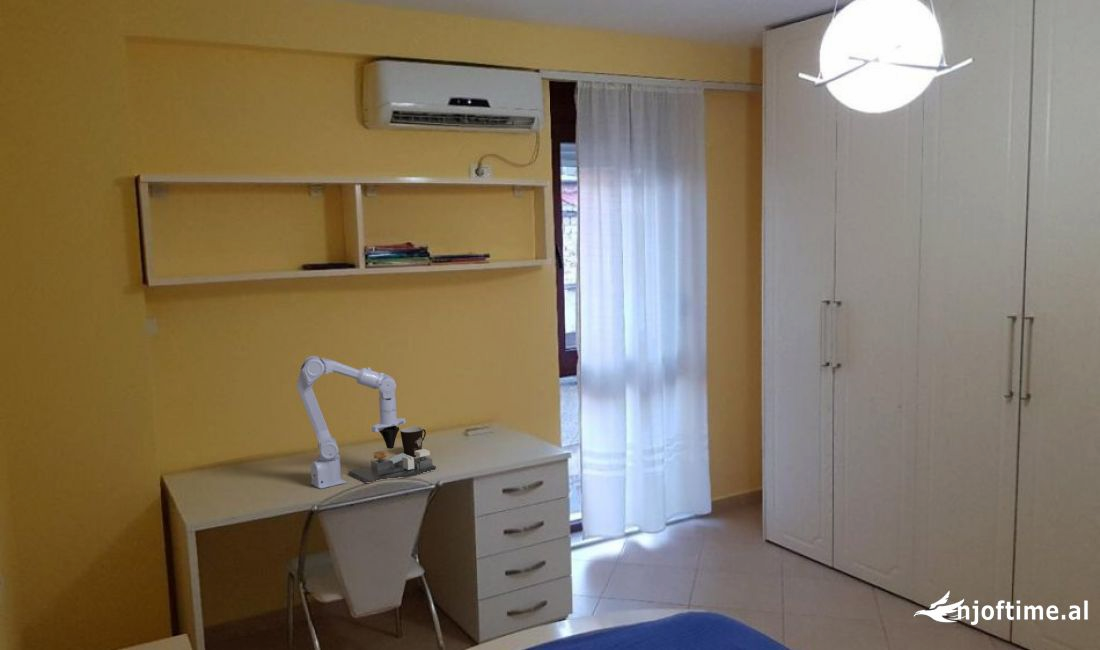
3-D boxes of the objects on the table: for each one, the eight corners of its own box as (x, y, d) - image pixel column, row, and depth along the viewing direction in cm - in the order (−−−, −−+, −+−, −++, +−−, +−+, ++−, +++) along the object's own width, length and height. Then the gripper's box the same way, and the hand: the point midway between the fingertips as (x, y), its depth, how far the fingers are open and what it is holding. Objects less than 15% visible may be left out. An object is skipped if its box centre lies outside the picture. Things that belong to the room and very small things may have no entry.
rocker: (393, 463, 297) (392, 461, 297) (388, 461, 300) (387, 459, 300) (407, 457, 300) (407, 454, 300) (402, 455, 303) (402, 452, 303)
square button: (420, 463, 293) (419, 453, 293) (414, 461, 296) (414, 450, 296) (430, 461, 296) (429, 450, 295) (424, 459, 299) (424, 448, 298)
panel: (371, 485, 280) (370, 474, 279) (349, 474, 294) (348, 463, 294) (436, 470, 295) (435, 459, 295) (411, 460, 309) (410, 450, 309)
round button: (377, 465, 293) (377, 455, 292) (372, 463, 296) (371, 452, 296) (388, 463, 295) (388, 452, 295) (383, 460, 299) (382, 450, 298)
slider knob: (408, 469, 290) (407, 458, 290) (402, 467, 294) (402, 456, 293) (414, 468, 292) (413, 457, 291) (408, 466, 295) (408, 455, 295)
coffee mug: (407, 459, 312) (405, 433, 310) (398, 454, 319) (396, 429, 318) (435, 453, 318) (433, 428, 317) (425, 449, 325) (424, 424, 324)
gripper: (380, 415, 280) (383, 454, 282) (411, 406, 292) (413, 444, 294) (366, 413, 284) (368, 451, 286) (396, 405, 296) (398, 442, 298)
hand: (390, 448), depth 290 cm, fingers closed
